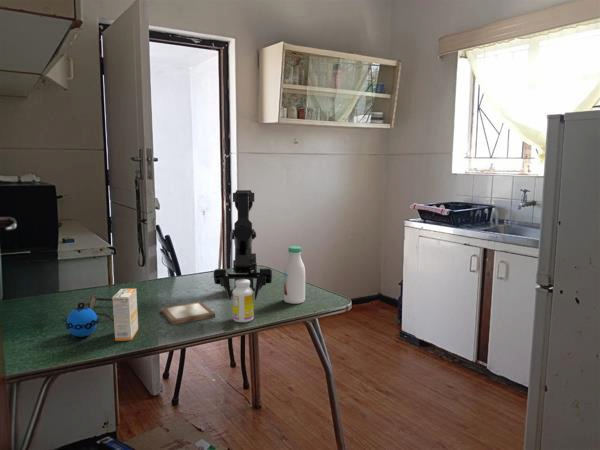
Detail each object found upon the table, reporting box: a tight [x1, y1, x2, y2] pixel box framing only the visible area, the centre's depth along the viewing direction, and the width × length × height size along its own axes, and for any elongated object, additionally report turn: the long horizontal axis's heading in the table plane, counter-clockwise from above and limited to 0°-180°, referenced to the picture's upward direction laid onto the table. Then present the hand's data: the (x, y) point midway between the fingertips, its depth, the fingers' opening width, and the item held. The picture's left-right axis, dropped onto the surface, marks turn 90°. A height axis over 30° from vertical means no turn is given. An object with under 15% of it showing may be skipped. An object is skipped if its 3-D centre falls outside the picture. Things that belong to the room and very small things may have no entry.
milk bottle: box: [283, 245, 306, 305], centre depth 168 cm, size 8×8×20 cm
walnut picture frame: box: [160, 301, 216, 326], centre depth 155 cm, size 14×14×1 cm
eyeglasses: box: [76, 295, 114, 322], centre depth 155 cm, size 15×15×5 cm
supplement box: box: [111, 288, 139, 342], centre depth 136 cm, size 8×5×13 cm, turn 5°
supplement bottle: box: [231, 279, 255, 323], centre depth 150 cm, size 7×7×13 cm
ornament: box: [65, 302, 99, 338], centre depth 135 cm, size 9×9×10 cm
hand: (242, 299), depth 148 cm, fingers open, 8 cm apart
